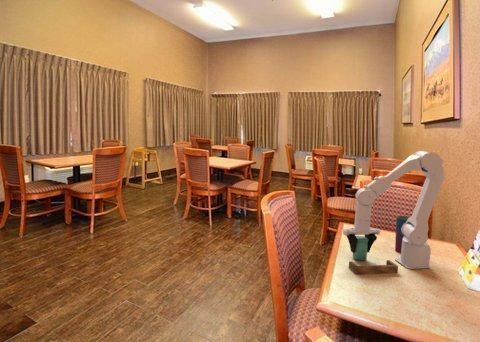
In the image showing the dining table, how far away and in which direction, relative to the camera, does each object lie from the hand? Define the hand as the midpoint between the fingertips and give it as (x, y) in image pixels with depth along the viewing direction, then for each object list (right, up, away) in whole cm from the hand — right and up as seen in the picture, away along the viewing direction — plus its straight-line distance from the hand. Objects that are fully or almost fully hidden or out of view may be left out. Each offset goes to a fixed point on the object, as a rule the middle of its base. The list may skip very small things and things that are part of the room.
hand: (359, 251), depth 118 cm
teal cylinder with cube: (0, -2, +1) cm, 3 cm away
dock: (+1, -4, -9) cm, 10 cm away
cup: (+22, -3, +9) cm, 24 cm away
